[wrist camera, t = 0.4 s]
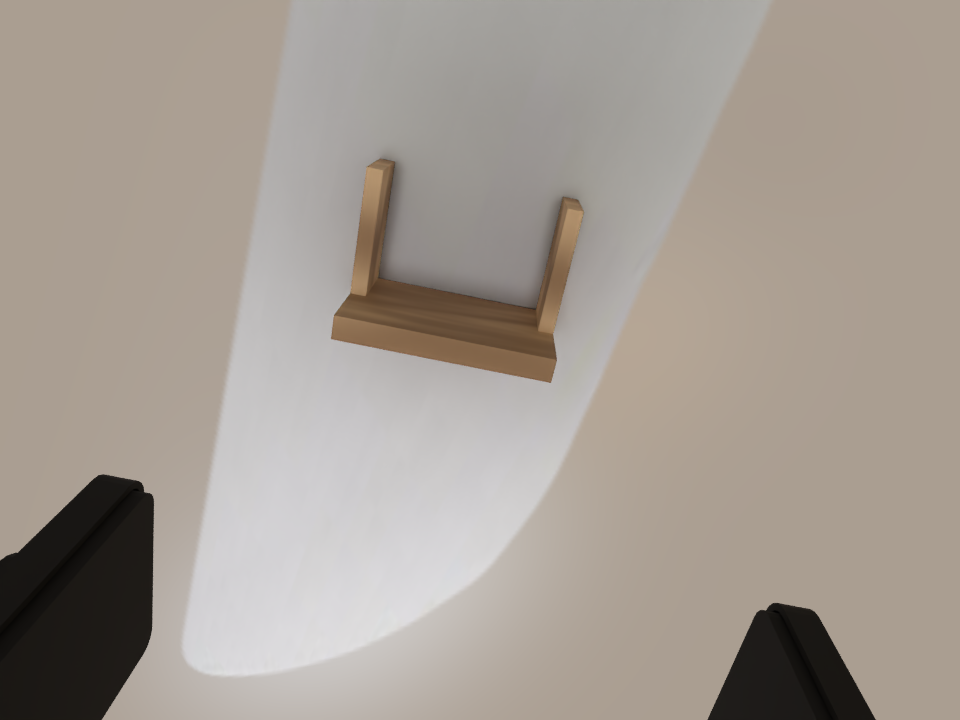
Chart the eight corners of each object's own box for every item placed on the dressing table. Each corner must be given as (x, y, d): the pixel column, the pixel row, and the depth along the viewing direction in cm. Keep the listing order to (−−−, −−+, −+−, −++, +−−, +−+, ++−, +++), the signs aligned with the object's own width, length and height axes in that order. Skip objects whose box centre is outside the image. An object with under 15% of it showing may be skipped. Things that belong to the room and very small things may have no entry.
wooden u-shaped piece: (379, 158, 36) (350, 176, 30) (577, 199, 37) (591, 226, 30) (361, 295, 39) (330, 339, 33) (544, 332, 40) (550, 382, 33)
